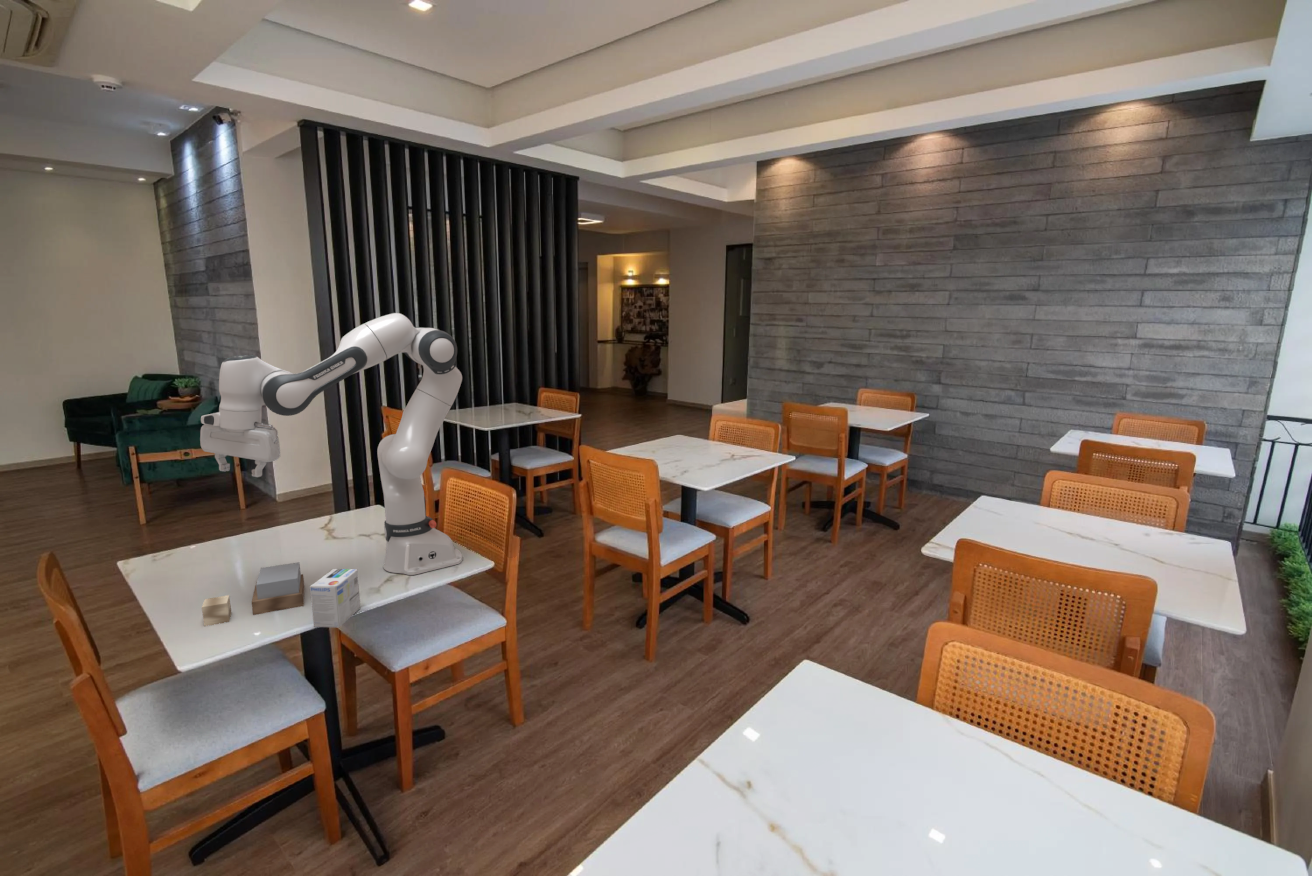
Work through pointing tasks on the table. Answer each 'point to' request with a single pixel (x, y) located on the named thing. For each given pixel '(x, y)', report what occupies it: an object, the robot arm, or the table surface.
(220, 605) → the birch cube
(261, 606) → the walnut base slab
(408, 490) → the robot arm
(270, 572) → the slate grey block
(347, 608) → the light bulb box
